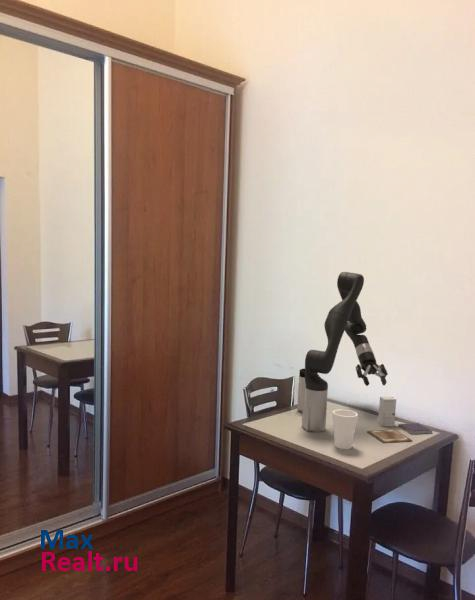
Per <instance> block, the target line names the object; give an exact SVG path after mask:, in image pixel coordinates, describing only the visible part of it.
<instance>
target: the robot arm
mask: <svg viewBox="0 0 475 600" xmlns="http://www.w3.org/2000/svg"><path fill="white" fill-rule="evenodd" d="M336 280H337V281H336V284H337V285H336V287H337V289H338V293H339V296H340V299H341V301H340V302H338V303H337V304H335V305H334V306H333V307H332V308H330V310H329V311H328V313H327V316H326V319H324V320H325V321H324V326H323V327H324V331H325V334H326V337H327V346H326V349H325V350H324V351H323V350H317V349H310V350H308V351H307V353H306V355H305V360H304V369H305V383H306V391H305V404H304V405H303V413H302V417H301V418H302V419H301V427H302V428H303V429H305V431H307V432H315V433H316V432H319V433H321V432H324V431H325V430H326V428H327V427H326V425H327V409H328V408H327V406H328V390H329V383H328V381H326V380H325V379H323V378H322V377H321V376H320V375H319V374H323V375H328V374H329V373H330V372H331V371H332V369H333V367H334V364H335V360H336V357H337V353H338V351H339V350H338V349H339V346H340V343H341V340H342V338H343V335H344V333H346V335H347V336H348V337H349V339H350V340H351V342H352V344H353V347H354V348H355V352H356V356H357V359H358V362H359V364H357V365H356V366H355V371H356V374H357V378H358V379H362V380H363V383H364V385H365V386H366V387H368V386H369V385H370V382H369V379H368V375H369V376H370V375H375V376H376V377H379V378H380V381H381V384H382V386H386V384H387V382H388V381H387V379H386V377H387V376H388V374H389V373H388V371H387V369H386V367H385V365H384V364H383V363H381V364H378V363H377V359H376V356H375V353H374V351H373V349H372V347H371V345H370V342H369V340H368V337H367V335H365V334H363V333H365V332H366V331H367V328H366V327H367V324H366V322H365V321H364V319H363V318H362V317H363V316H362V311H361V306H360V305H359V302H358V301H357V300H358V299H359V296H360V294H361V292H362V290H363V287H364V283H365V278H364V276H363V274H361V273H360V274H359V273H357V272H356V273H355V272H349V271H342V272H340V273H339V275H338V277H337V279H336ZM362 371H364V372H363V373H362Z"/></svg>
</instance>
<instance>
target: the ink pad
mask: <svg viewBox="0 0 475 600" xmlns="http://www.w3.org/2000/svg"><path fill="white" fill-rule="evenodd" d="M397 427H398V428H400V429H402V430H403V431H405V432H407V433H408V434H410V435H424V434H433V430H432V429H431V428H428V426H425V425H424V424H421V423H419V422H411V423H410V422H409V423H398V424H397Z"/></svg>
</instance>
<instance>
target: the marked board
mask: <svg viewBox="0 0 475 600" xmlns="http://www.w3.org/2000/svg"><path fill="white" fill-rule="evenodd" d="M366 433H367V434H369V435H371V436H372V437H374V438H375V439H376V440H378V441H379V442H380V443H383V444H391V443H392V444H393V443H395V444H396V443H406V442H408V443H409V442H410V443H411V442H413V440H412V439H411V438H410V437H408V436H407V435H404V434H403V433H402V432H400V431H398V430H397V429H379V430H378V429H377V430H375V429H374V430H367V431H366Z"/></svg>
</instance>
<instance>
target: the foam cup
mask: <svg viewBox="0 0 475 600" xmlns="http://www.w3.org/2000/svg"><path fill="white" fill-rule="evenodd" d="M331 416H332V417H331V418H332V423H333V438H334V446H335V447H336V448H338V449H341V450H350V449H352V447H353V443H354V438H355V437H354V436H355V434H356V433H355V432H356V427H357V423H358V420H359V419H358V417H359V414H358V413H357V412H356V411H354V410H350V409H334V410H332V415H331Z"/></svg>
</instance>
